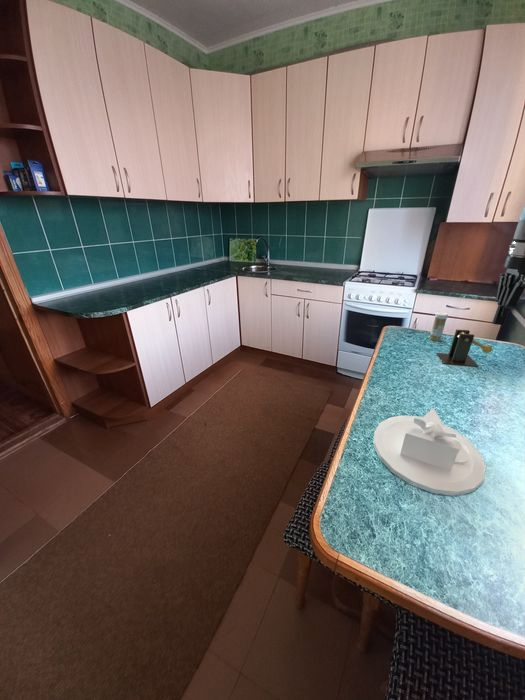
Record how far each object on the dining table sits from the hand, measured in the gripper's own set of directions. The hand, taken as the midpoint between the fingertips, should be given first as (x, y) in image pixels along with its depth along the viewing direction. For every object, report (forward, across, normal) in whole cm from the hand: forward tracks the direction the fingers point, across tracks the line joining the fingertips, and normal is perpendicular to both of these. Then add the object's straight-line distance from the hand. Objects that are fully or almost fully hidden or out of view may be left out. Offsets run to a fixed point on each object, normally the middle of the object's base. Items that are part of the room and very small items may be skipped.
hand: (497, 323), depth 104 cm
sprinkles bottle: (+17, -19, -12) cm, 28 cm away
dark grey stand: (+17, 0, -10) cm, 19 cm away
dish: (+17, +52, -34) cm, 64 cm away
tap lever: (+10, 0, -5) cm, 11 cm away
